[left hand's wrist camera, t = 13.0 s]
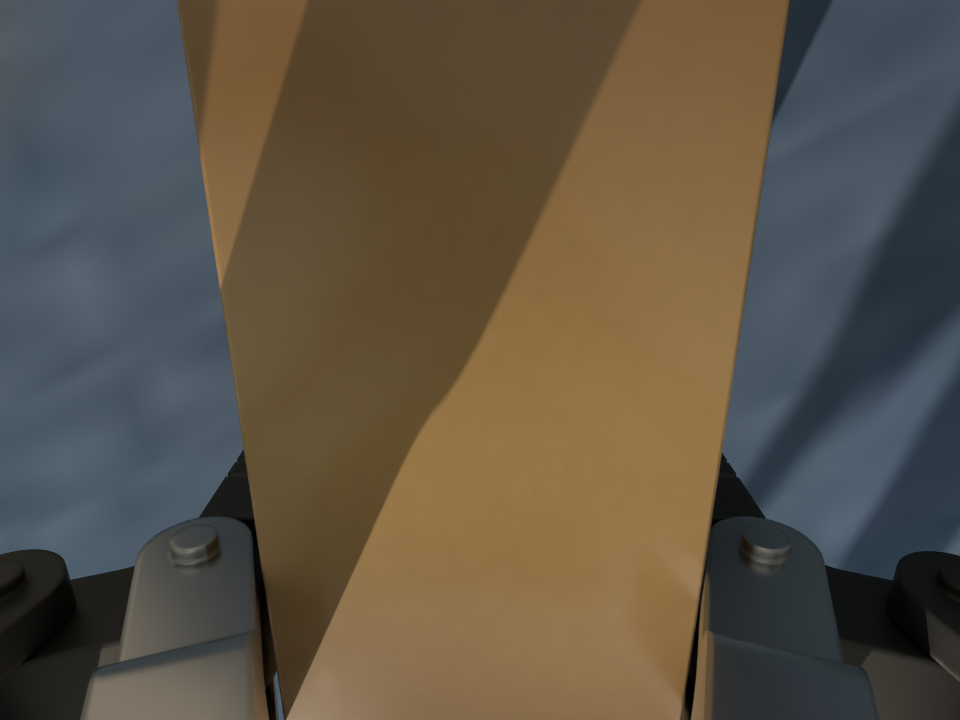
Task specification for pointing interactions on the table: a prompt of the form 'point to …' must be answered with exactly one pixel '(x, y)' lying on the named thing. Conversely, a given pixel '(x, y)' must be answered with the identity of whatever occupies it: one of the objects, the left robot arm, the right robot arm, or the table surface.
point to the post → (483, 334)
